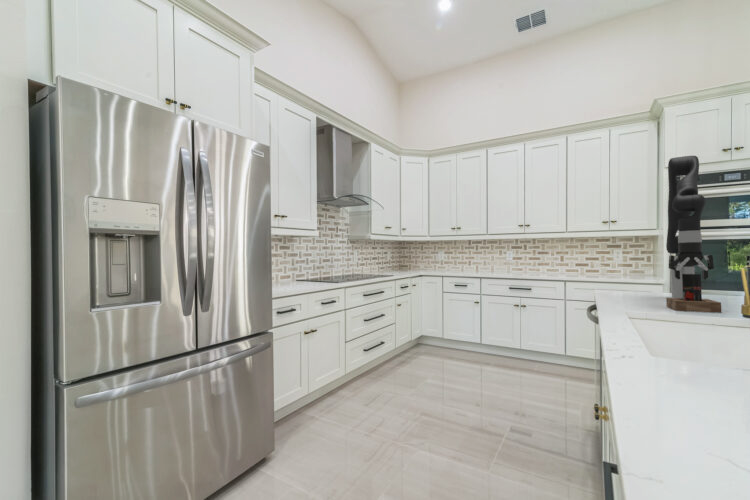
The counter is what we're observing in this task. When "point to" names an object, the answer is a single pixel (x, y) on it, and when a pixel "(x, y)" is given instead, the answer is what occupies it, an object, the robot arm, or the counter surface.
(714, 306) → the socket block
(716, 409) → the counter surface
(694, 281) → the deodorant
